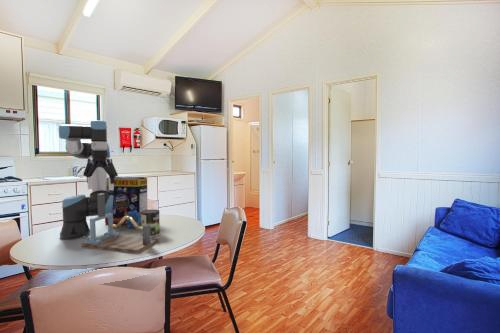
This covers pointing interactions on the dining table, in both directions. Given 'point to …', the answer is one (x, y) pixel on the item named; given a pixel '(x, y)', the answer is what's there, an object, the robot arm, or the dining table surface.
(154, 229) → the coffee can
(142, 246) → the board
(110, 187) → the robot arm
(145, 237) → the buzz wire
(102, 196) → the grey frame
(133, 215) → the blue rounded piece
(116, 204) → the cereal box
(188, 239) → the dining table surface
